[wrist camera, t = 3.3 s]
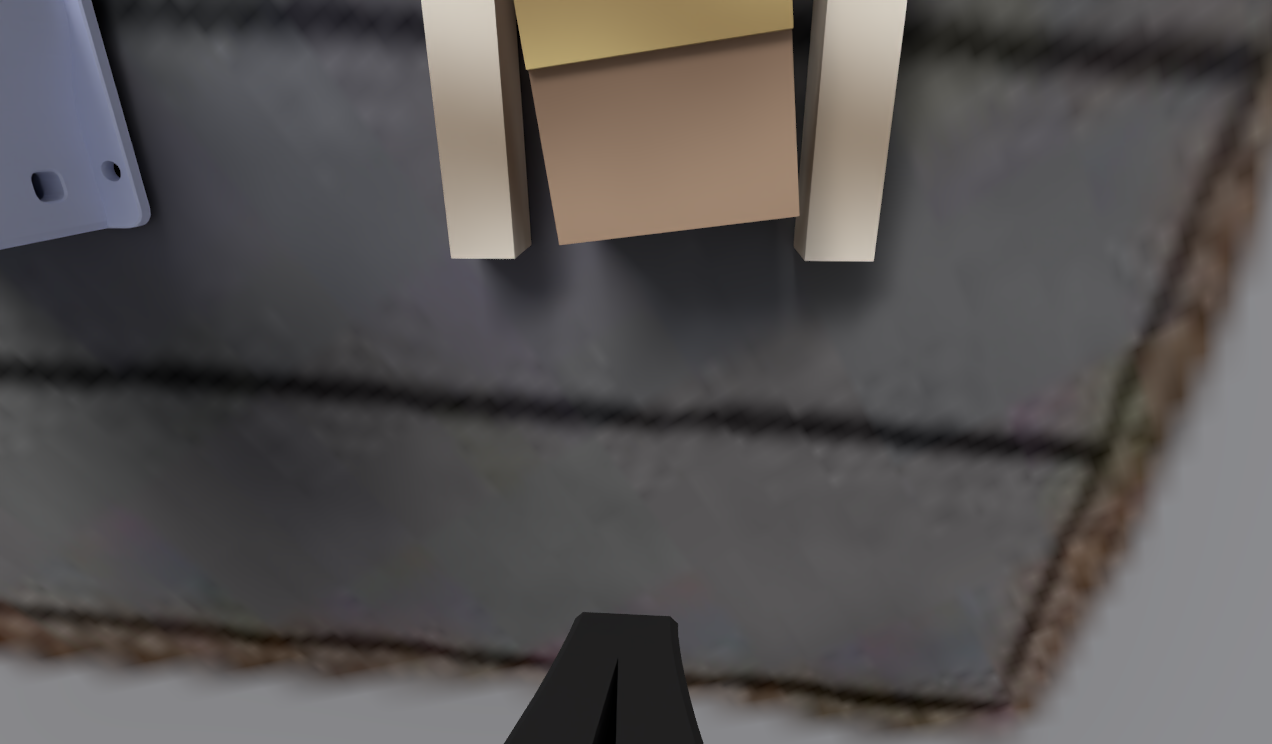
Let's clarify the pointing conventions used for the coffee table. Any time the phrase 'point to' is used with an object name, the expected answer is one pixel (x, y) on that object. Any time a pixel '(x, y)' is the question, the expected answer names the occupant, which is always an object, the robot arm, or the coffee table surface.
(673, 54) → the rider block
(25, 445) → the coffee table surface
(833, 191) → the beam slot
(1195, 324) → the coffee table surface
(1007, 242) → the coffee table surface
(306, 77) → the coffee table surface
